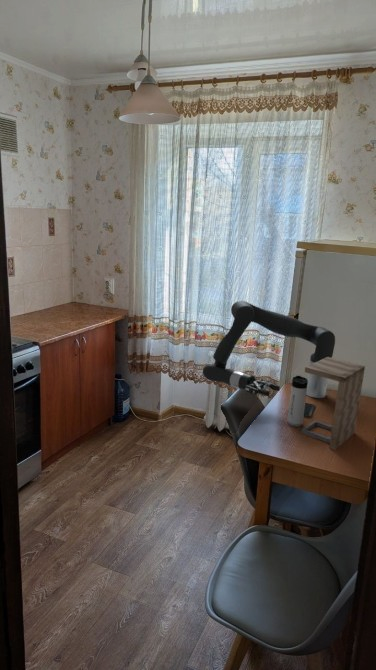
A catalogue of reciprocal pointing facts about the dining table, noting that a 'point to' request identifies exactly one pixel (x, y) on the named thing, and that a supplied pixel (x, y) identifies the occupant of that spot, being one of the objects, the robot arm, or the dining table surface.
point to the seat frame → (315, 435)
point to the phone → (308, 410)
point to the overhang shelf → (342, 395)
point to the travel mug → (297, 401)
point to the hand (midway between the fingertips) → (274, 391)
